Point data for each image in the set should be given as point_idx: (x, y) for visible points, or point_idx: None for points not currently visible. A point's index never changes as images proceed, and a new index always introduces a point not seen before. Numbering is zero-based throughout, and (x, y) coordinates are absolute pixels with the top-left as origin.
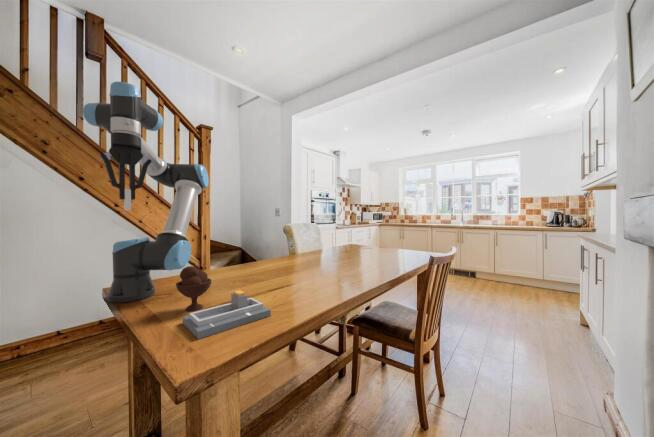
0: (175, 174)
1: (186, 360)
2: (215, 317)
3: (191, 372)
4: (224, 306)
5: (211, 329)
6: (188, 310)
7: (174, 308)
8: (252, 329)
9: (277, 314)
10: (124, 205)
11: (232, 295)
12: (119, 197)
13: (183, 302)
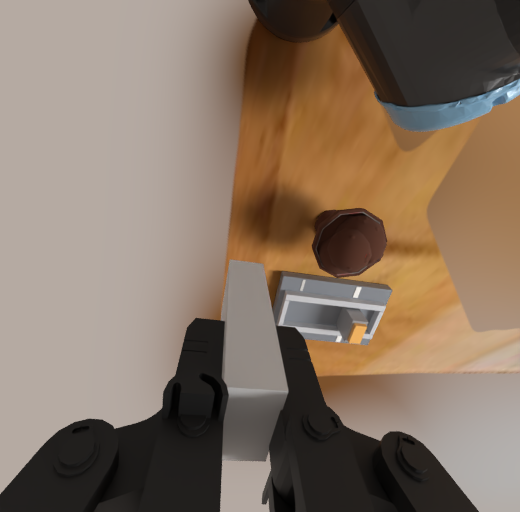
0: None
1: None
2: (299, 331)
3: None
4: (336, 305)
5: None
6: (316, 230)
7: (311, 191)
8: (319, 351)
9: (371, 341)
10: (224, 303)
11: (350, 323)
12: (186, 335)
13: (342, 168)
